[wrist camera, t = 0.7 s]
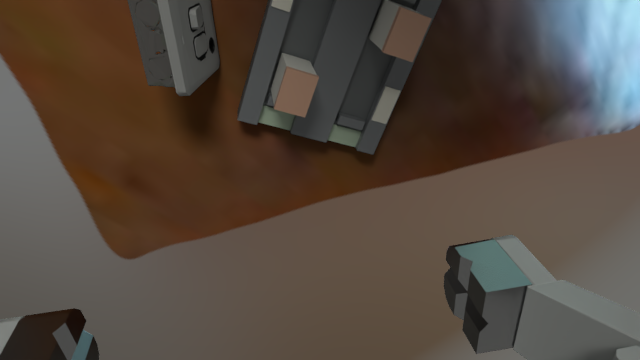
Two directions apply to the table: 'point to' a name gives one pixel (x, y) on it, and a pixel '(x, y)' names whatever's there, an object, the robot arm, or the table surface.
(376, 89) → the switch bank
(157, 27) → the electrical switch
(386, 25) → the tab
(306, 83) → the tab
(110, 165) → the table surface
